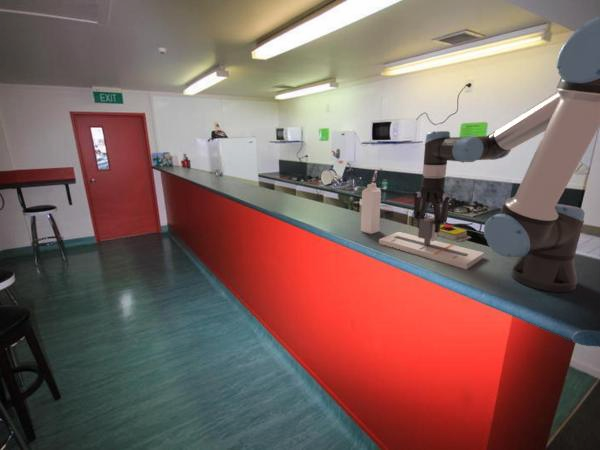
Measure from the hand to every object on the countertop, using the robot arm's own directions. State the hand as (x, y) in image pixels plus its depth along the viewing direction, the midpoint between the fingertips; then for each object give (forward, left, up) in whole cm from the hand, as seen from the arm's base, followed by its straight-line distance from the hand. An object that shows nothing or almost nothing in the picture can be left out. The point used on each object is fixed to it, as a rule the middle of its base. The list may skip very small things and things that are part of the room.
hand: (427, 238), depth 114 cm
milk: (+30, -4, -5) cm, 30 cm away
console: (0, 0, -5) cm, 5 cm away
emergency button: (+2, -24, -5) cm, 24 cm away
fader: (0, 0, -2) cm, 2 cm away
